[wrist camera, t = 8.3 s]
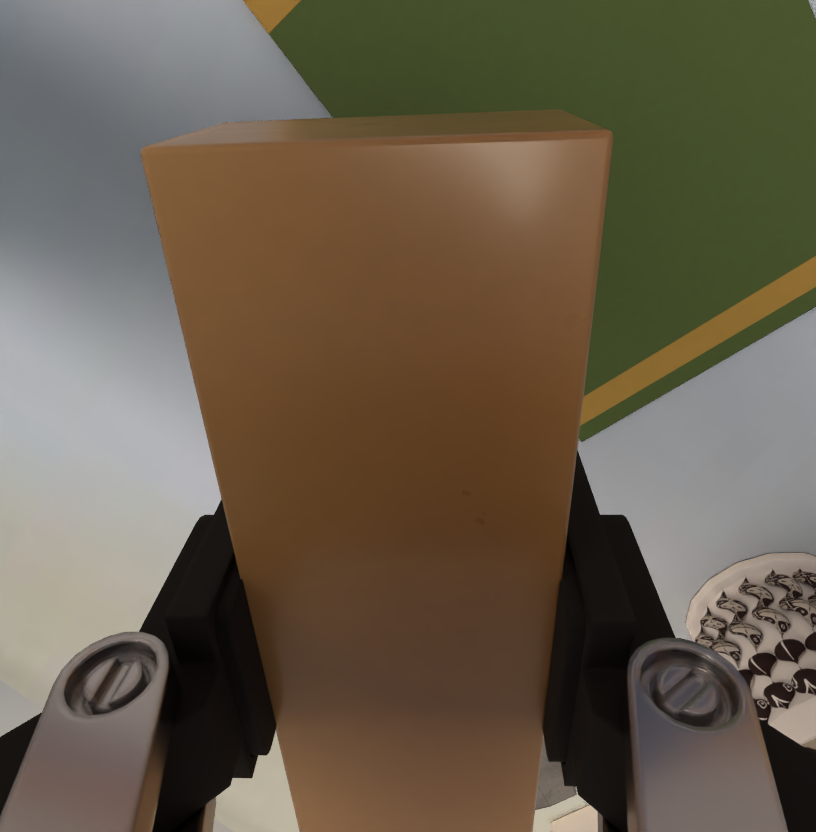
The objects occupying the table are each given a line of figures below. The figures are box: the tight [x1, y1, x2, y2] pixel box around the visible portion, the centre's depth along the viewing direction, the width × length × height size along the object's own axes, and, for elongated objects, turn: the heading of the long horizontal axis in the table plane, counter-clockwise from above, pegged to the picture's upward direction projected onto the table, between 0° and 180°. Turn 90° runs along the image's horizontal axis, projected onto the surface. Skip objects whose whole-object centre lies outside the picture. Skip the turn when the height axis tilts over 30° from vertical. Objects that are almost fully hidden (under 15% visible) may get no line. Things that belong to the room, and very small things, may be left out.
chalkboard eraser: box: [141, 109, 614, 832], centre depth 10 cm, size 4×13×4 cm, turn 2°
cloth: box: [243, 0, 816, 442], centre depth 22 cm, size 22×14×1 cm, turn 38°
